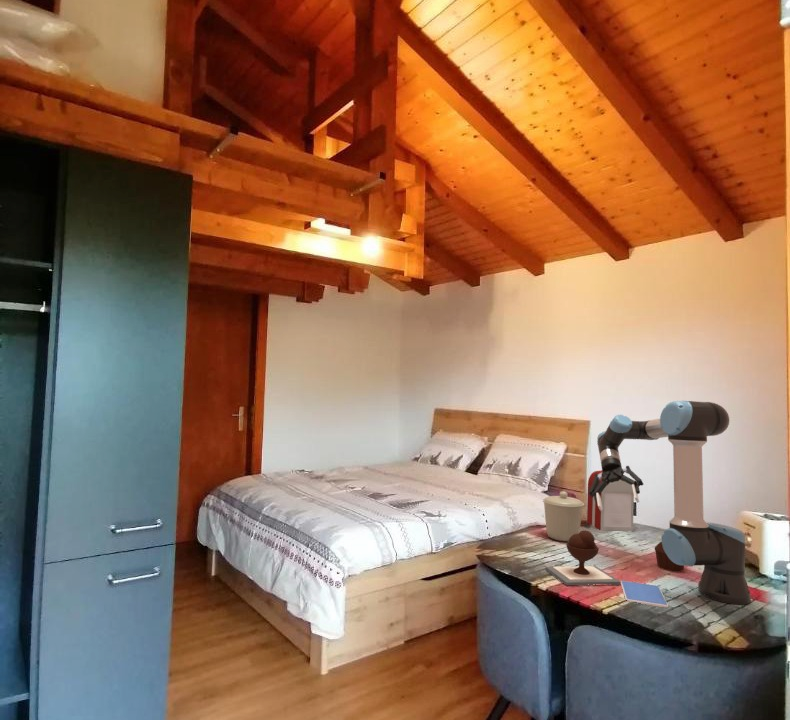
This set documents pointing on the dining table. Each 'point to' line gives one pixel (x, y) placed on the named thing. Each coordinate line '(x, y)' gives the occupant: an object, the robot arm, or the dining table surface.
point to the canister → (562, 516)
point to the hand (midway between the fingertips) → (618, 504)
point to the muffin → (665, 560)
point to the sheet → (572, 576)
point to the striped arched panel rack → (611, 506)
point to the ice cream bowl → (582, 549)
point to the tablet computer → (643, 594)
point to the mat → (568, 582)
